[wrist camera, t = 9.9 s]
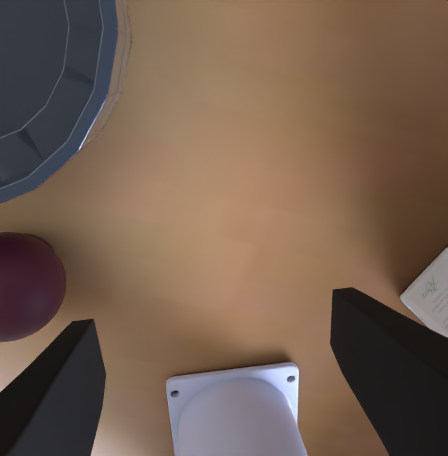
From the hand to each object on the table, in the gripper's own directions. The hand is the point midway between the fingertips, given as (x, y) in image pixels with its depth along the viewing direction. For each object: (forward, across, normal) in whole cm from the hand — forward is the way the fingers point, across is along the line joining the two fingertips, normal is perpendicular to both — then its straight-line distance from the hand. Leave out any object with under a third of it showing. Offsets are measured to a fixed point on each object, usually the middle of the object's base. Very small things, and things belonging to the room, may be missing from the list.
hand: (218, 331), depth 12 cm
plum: (+9, +9, +1) cm, 13 cm away
